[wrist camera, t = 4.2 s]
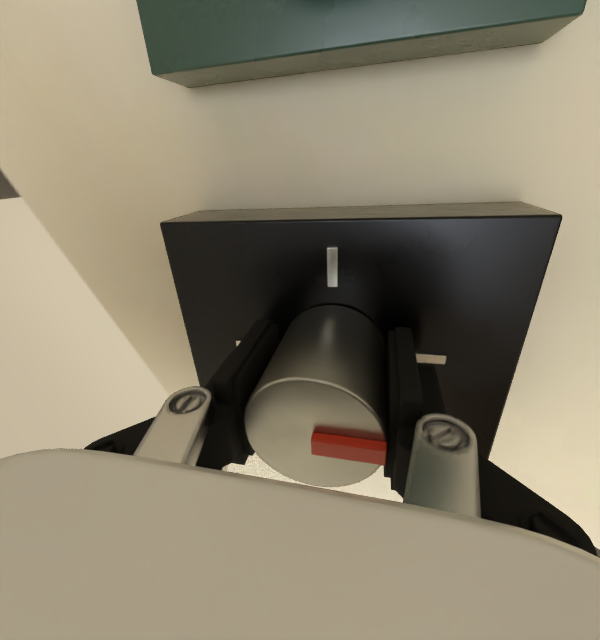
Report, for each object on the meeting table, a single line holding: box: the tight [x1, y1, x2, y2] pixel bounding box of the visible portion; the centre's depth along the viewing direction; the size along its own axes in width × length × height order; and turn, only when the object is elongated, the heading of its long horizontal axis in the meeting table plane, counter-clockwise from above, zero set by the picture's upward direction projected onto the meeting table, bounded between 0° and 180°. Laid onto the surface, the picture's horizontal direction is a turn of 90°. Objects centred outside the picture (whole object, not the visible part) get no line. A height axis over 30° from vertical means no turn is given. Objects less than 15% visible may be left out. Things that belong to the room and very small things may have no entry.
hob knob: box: [243, 305, 388, 487], centre depth 10 cm, size 4×4×5 cm
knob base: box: [160, 202, 562, 459], centre depth 14 cm, size 13×10×3 cm
